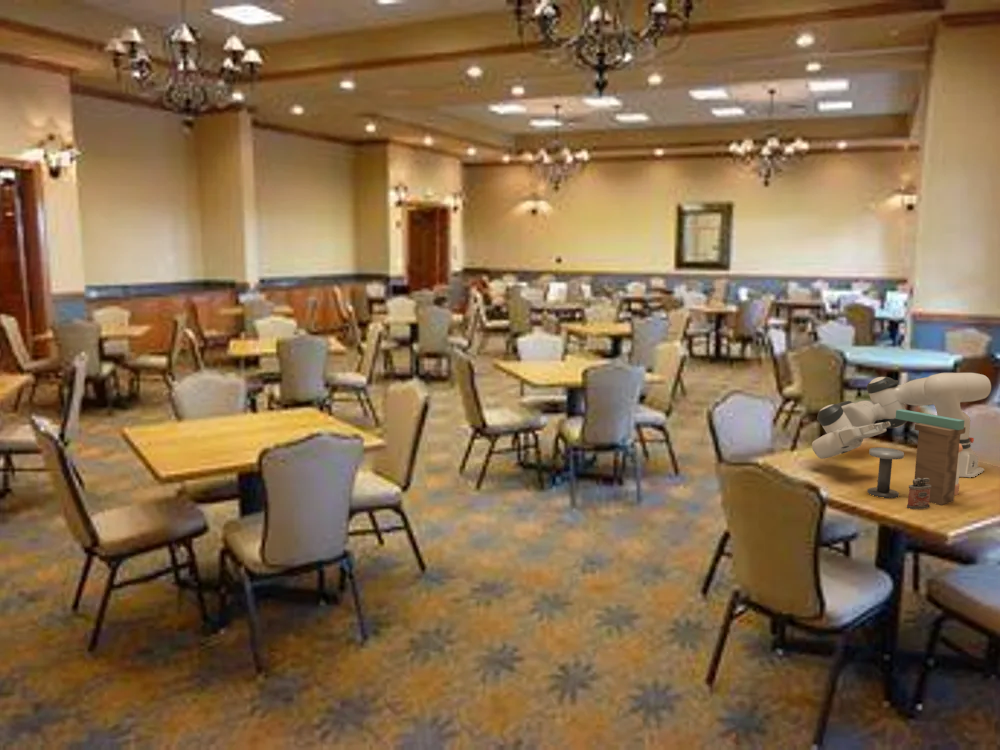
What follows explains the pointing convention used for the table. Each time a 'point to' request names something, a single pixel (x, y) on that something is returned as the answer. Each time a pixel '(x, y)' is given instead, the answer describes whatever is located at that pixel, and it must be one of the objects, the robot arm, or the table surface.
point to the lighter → (919, 494)
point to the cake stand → (885, 471)
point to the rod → (930, 419)
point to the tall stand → (938, 460)
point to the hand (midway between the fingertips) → (881, 425)
